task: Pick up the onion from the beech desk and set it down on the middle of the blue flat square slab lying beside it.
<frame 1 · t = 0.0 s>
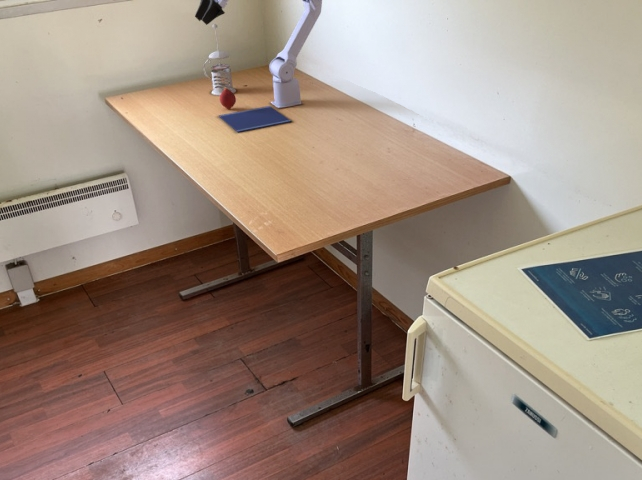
hand: (200, 20, 220), 32 cm above the table, tool tilted 50°, fingers open, 7 cm apart
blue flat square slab: (254, 119, 236), on the table
french press: (221, 92, 265), on the table
onion: (229, 109, 246), on the table
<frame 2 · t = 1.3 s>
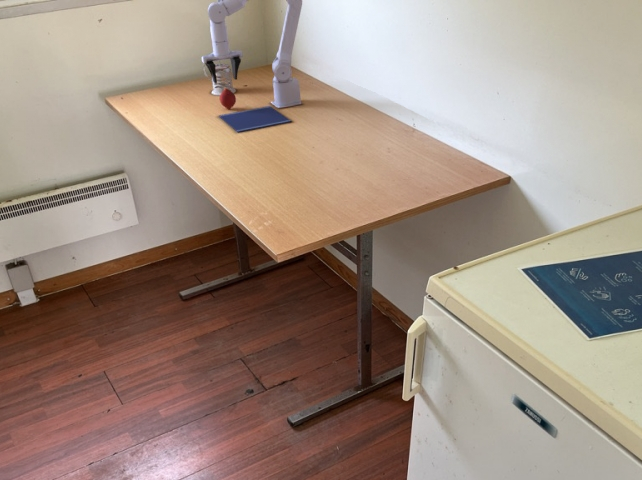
hand: (225, 80, 240), 10 cm above the table, tool pointing down, fingers open, 7 cm apart
nothing on the table moved.
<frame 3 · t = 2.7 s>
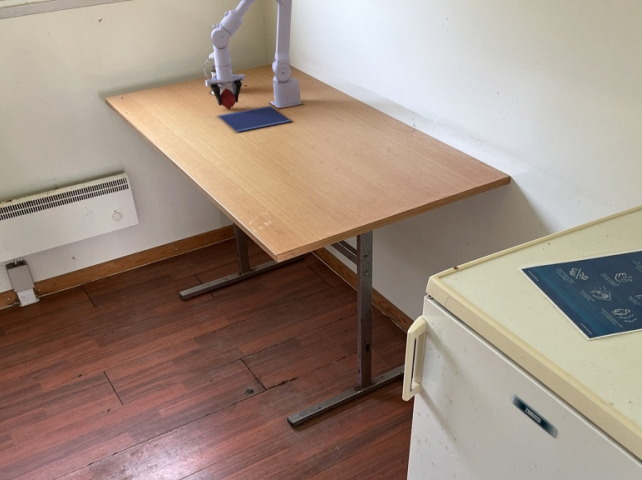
hand: (228, 103, 245), 2 cm above the table, tool pointing down, fingers closed on onion, 6 cm apart
onion: (229, 109, 246), on the table, touching gripper
everything else where it was.
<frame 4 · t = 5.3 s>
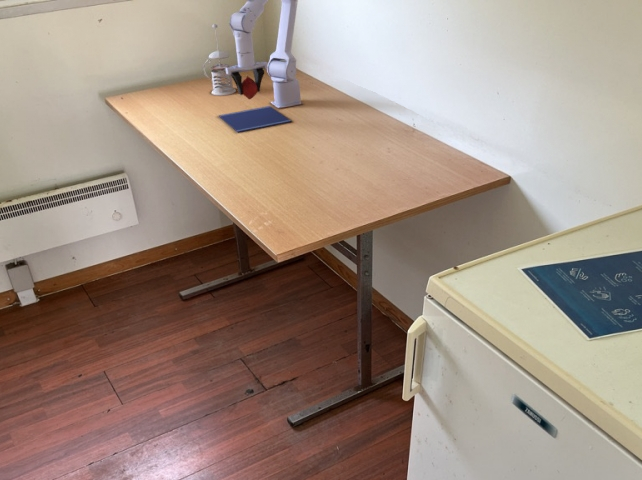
hand: (249, 92, 231), 9 cm above the table, tool pointing down, fingers closed on onion, 6 cm apart
onion: (250, 99, 233), point 7 cm above the table, touching gripper
everything else where it was.
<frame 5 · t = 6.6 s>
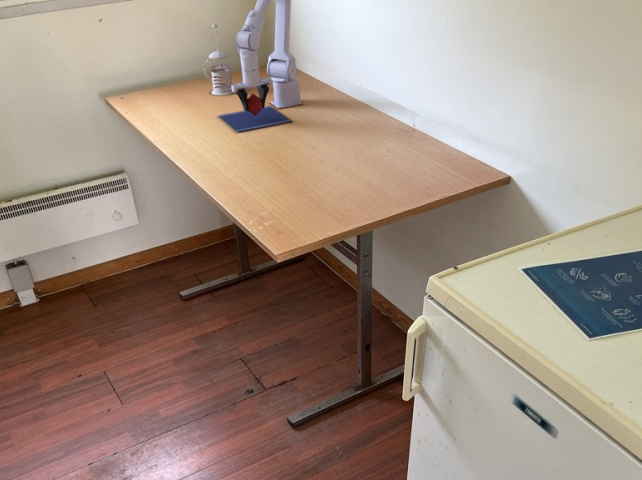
hand: (254, 109, 233), 4 cm above the table, tool pointing down, fingers closed on onion, 6 cm apart
onion: (255, 116, 235), point 1 cm above the table, touching gripper
everything else where it was.
when the fingers open (3 cm above the table, at t = 7.7 s): onion stays where it is, resting on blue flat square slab.
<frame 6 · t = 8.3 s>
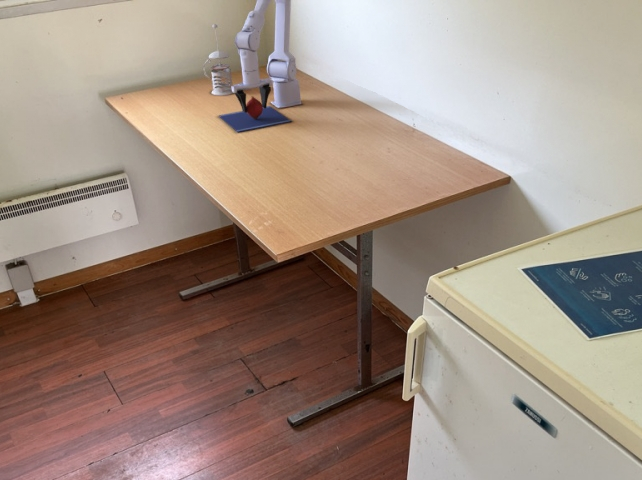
hand: (254, 109, 233), 4 cm above the table, tool pointing down, fingers open, 7 cm apart
onion: (255, 119, 235), resting on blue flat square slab
everything else where it was.
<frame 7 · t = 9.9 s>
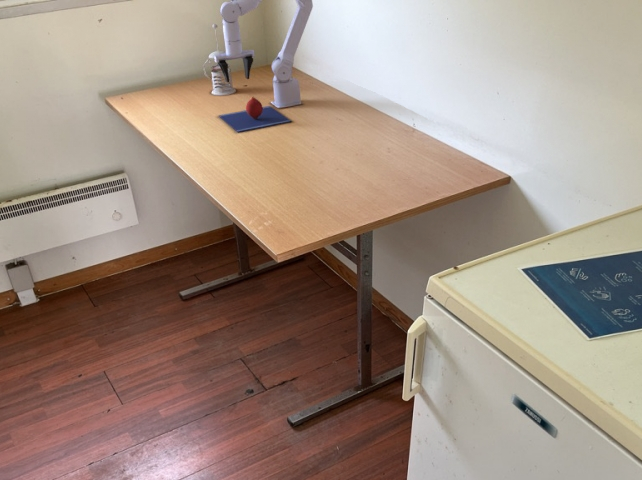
hand: (237, 80, 240), 10 cm above the table, tool pointing down, fingers open, 7 cm apart
nothing on the table moved.
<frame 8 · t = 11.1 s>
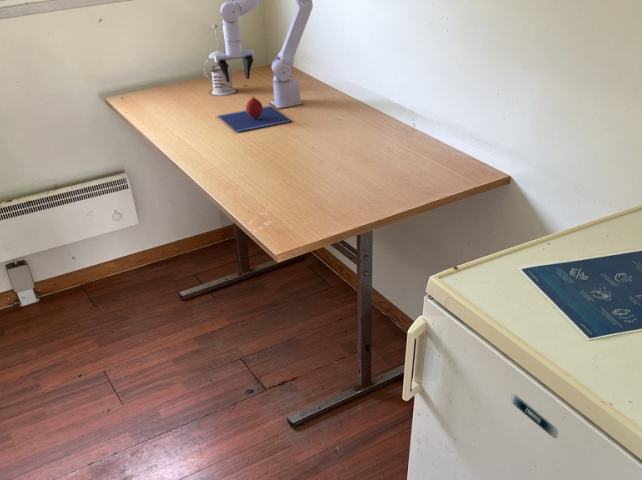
hand: (237, 80, 240), 10 cm above the table, tool pointing down, fingers open, 7 cm apart
nothing on the table moved.
at the end: onion inside the target area on the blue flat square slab (1.0 cm from its centre), point 0.2 cm above the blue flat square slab's base; the gripper is holding nothing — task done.
